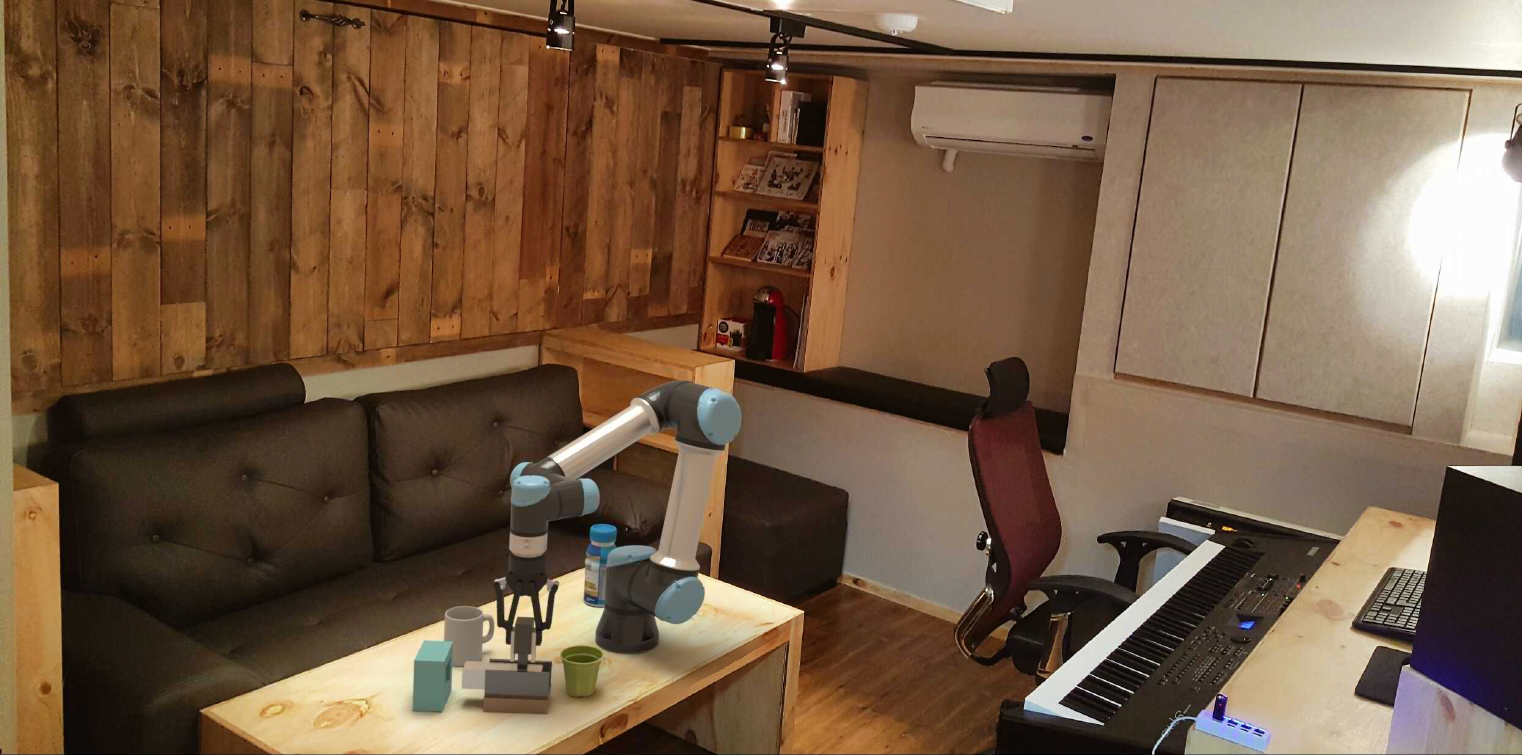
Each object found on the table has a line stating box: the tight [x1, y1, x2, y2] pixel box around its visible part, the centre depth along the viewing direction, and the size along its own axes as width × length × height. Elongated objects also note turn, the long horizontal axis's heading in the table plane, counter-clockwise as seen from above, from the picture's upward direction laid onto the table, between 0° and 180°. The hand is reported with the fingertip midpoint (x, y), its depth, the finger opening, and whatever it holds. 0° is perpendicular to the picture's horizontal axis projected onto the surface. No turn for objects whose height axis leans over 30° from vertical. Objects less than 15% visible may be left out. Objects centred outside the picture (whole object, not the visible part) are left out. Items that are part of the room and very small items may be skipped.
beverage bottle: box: [583, 523, 618, 608], centre depth 308 cm, size 8×8×20 cm
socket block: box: [412, 639, 453, 713], centre depth 249 cm, size 6×10×11 cm, turn 4°
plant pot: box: [559, 644, 605, 698], centre depth 258 cm, size 9×9×9 cm
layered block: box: [482, 657, 553, 715], centre depth 251 cm, size 13×8×8 cm, turn 94°
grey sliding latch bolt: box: [461, 616, 543, 691], centre depth 249 cm, size 16×4×15 cm, turn 94°
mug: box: [443, 605, 495, 668], centre depth 271 cm, size 12×8×11 cm
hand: (523, 658), depth 250 cm, fingers closed on grey sliding latch bolt, 3 cm apart
